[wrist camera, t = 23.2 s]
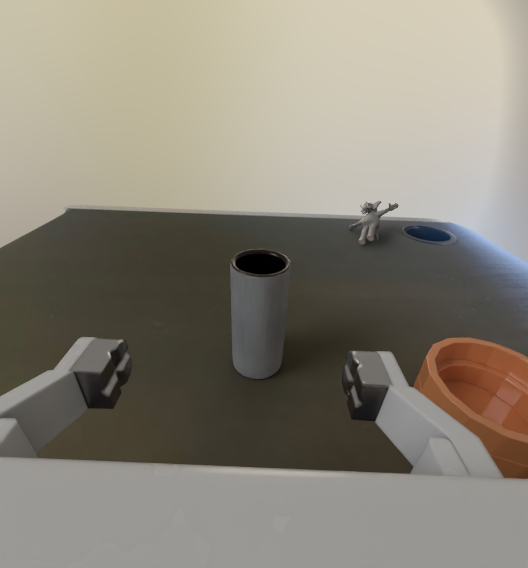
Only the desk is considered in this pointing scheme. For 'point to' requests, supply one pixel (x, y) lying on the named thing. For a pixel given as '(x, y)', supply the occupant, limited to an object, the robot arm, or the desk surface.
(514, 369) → the bowl
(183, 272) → the desk surface
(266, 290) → the tall grey cup
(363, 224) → the grey figurine
